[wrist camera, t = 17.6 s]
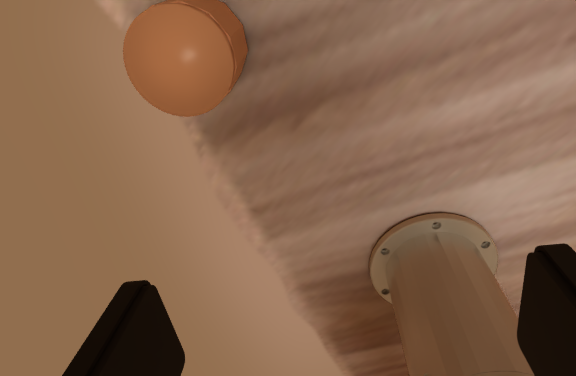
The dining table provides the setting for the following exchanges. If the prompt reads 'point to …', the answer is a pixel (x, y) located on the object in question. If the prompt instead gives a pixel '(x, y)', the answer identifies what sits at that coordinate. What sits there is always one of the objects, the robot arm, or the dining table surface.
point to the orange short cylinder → (185, 55)
